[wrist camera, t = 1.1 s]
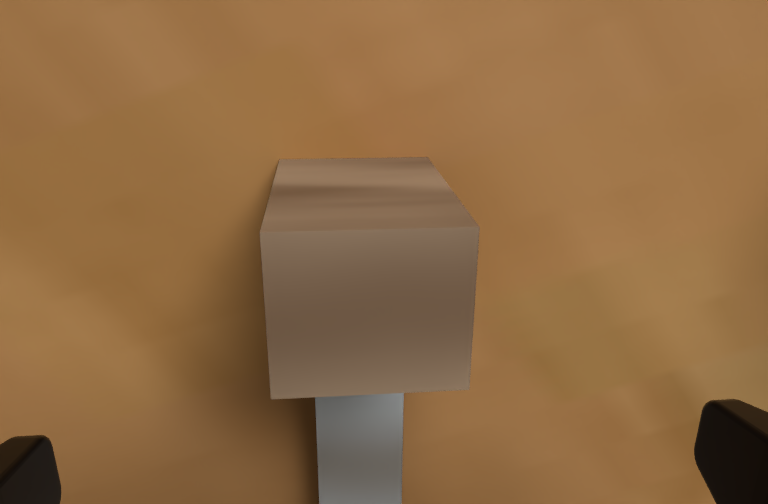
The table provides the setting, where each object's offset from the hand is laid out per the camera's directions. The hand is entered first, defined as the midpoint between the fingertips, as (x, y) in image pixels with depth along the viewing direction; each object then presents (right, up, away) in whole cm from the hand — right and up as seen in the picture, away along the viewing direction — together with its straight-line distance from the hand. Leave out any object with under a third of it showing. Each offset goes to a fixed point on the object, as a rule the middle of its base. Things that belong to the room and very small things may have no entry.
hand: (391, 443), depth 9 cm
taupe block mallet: (-1, -2, +11) cm, 11 cm away
